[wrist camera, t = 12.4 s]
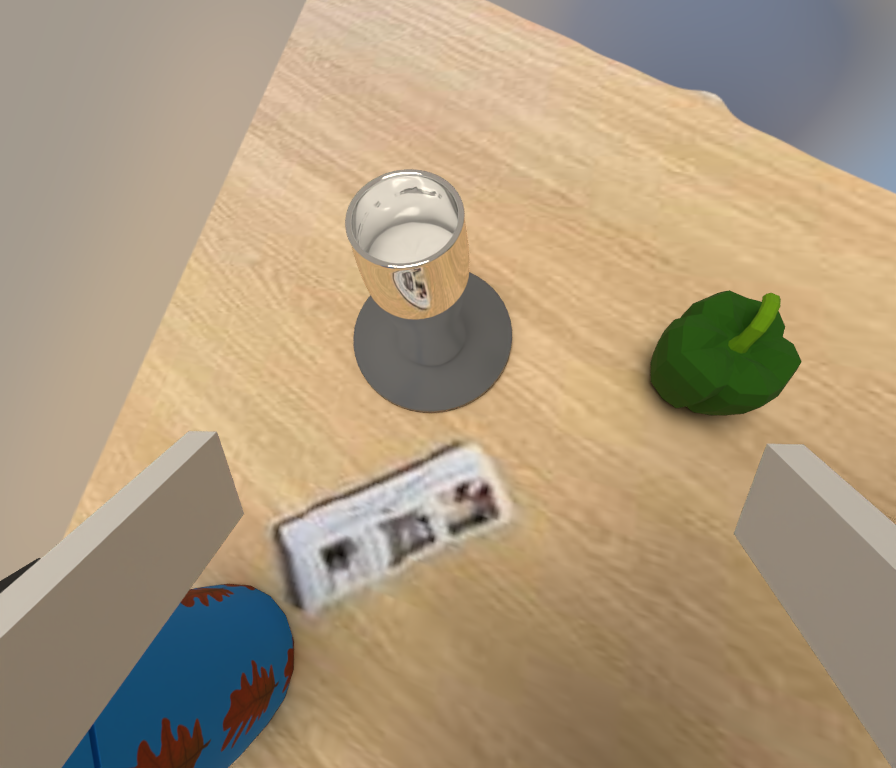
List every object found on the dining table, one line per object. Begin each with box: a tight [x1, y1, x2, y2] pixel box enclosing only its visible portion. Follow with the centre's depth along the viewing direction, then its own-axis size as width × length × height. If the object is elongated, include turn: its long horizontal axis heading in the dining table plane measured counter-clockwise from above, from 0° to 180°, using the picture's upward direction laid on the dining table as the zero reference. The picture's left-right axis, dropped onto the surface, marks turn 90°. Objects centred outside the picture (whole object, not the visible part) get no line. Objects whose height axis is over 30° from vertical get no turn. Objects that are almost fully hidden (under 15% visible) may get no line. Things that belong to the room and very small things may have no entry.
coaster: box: [354, 272, 512, 413], centre depth 37 cm, size 14×14×1 cm
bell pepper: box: [651, 290, 802, 415], centre depth 30 cm, size 8×8×10 cm
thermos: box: [62, 584, 294, 768], centre depth 19 cm, size 11×11×25 cm
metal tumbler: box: [345, 169, 470, 366], centre depth 30 cm, size 7×7×15 cm
